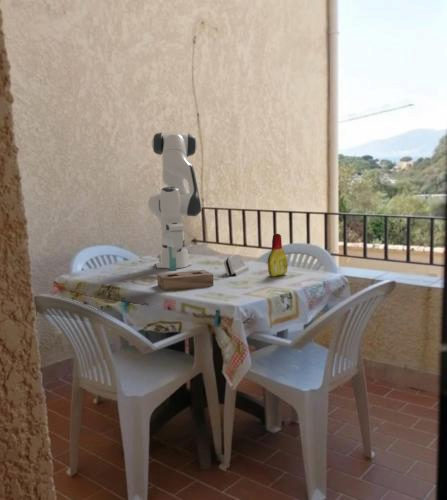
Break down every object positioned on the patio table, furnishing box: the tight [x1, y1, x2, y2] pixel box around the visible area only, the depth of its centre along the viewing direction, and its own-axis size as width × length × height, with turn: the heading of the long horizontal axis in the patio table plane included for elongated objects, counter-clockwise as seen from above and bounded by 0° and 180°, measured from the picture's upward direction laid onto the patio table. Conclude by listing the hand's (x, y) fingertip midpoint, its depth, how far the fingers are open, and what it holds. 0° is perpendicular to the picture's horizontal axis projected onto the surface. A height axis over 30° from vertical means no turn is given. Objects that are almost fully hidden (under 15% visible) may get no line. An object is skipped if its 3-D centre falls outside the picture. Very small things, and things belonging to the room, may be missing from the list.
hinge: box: [223, 253, 250, 277], centre depth 254 cm, size 17×5×10 cm, turn 156°
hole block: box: [156, 269, 214, 292], centre depth 227 cm, size 12×22×5 cm, turn 112°
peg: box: [168, 247, 177, 272], centre depth 223 cm, size 3×3×12 cm
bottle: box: [267, 233, 288, 277], centre depth 243 cm, size 12×6×20 cm, turn 131°
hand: (172, 256), depth 223 cm, fingers closed on peg, 3 cm apart
